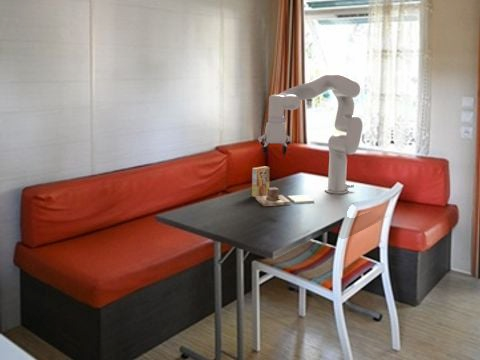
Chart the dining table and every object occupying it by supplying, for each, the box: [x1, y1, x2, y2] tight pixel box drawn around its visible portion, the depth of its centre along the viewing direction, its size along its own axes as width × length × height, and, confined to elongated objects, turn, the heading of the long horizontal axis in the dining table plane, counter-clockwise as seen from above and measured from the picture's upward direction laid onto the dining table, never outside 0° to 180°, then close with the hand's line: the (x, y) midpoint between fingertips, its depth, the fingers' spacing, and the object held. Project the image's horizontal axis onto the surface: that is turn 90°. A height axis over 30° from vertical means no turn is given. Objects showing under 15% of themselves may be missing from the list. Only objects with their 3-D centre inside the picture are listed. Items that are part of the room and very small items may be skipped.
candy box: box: [251, 165, 271, 198], centre depth 286 cm, size 9×4×15 cm, turn 129°
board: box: [287, 194, 315, 205], centre depth 280 cm, size 10×12×1 cm
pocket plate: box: [255, 194, 292, 207], centre depth 276 cm, size 14×14×2 cm
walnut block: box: [267, 186, 280, 201], centre depth 275 cm, size 4×4×7 cm
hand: (274, 154), depth 271 cm, fingers open, 9 cm apart
